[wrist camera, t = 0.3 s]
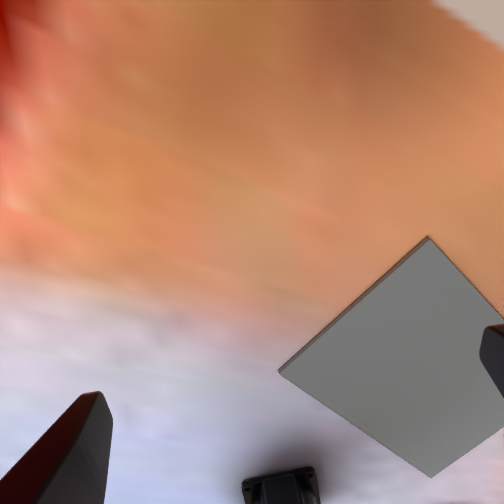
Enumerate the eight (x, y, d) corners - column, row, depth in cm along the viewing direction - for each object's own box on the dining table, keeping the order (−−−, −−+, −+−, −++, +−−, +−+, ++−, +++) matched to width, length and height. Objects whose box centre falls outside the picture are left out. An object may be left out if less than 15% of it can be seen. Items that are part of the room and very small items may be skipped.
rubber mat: (428, 474, 34) (430, 478, 34) (278, 369, 27) (279, 373, 27) (559, 381, 31) (563, 384, 31) (426, 236, 24) (430, 239, 24)
